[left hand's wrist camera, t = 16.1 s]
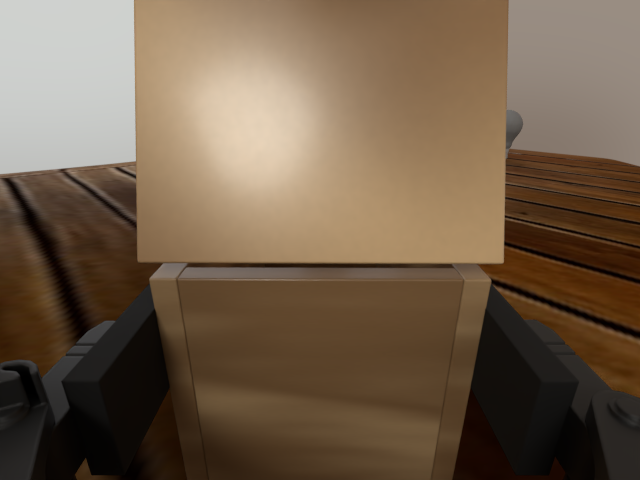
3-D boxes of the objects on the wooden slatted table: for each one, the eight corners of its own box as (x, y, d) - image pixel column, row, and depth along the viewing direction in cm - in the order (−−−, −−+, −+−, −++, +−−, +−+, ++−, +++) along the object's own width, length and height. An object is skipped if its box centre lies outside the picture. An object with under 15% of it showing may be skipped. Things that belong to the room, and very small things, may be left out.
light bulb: (490, 161, 76) (499, 110, 73) (481, 157, 82) (488, 109, 78) (520, 162, 76) (531, 110, 72) (508, 157, 81) (517, 109, 78)
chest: (257, 289, 26) (249, 169, 23) (382, 290, 26) (391, 170, 23) (190, 500, 13) (148, 278, 10) (449, 501, 13) (492, 279, 10)
